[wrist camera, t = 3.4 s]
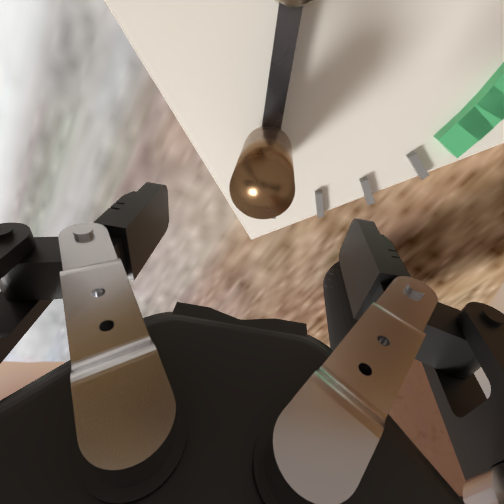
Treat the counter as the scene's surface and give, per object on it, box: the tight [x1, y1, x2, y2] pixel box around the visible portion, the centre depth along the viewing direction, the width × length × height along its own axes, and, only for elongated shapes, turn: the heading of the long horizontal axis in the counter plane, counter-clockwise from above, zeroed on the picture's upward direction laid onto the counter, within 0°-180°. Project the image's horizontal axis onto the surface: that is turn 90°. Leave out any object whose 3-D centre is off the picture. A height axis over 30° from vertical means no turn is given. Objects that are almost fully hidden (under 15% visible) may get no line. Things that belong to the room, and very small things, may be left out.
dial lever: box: [229, 0, 315, 219], centre depth 14 cm, size 14×4×7 cm, turn 173°
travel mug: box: [323, 262, 466, 500], centre depth 20 cm, size 8×8×20 cm
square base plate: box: [104, 0, 504, 240], centre depth 16 cm, size 20×21×2 cm
